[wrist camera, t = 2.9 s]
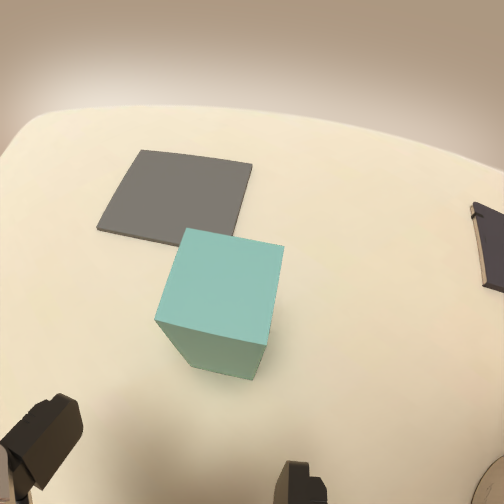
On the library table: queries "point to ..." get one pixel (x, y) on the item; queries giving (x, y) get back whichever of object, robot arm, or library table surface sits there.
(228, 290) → the teal rectangular block
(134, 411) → the library table surface
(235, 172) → the charcoal mat
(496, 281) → the notebook
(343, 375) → the library table surface
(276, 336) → the library table surface
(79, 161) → the library table surface
